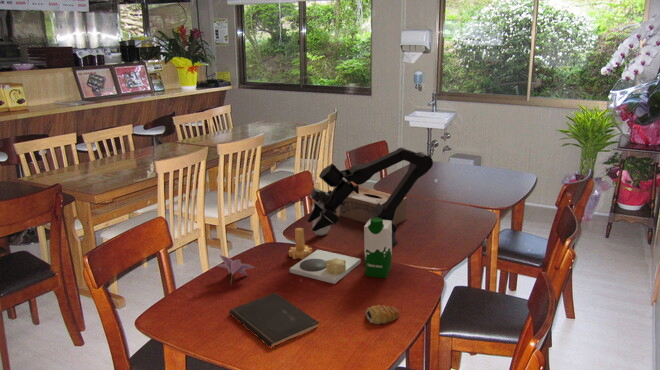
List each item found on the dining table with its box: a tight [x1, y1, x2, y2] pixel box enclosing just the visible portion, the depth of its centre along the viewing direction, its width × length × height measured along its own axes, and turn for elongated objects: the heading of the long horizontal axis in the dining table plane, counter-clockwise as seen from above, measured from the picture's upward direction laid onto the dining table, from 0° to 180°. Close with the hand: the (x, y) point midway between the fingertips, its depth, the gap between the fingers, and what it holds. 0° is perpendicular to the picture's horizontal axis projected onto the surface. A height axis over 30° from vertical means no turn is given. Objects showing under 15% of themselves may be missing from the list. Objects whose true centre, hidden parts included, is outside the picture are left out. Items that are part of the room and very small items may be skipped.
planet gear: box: [288, 227, 313, 261], centre depth 198 cm, size 9×9×10 cm
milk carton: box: [363, 218, 393, 279], centre depth 180 cm, size 9×9×20 cm
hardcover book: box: [229, 292, 320, 347], centre depth 155 cm, size 16×23×2 cm
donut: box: [312, 217, 331, 236], centre depth 216 cm, size 10×4×10 cm, turn 141°
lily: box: [216, 254, 255, 285], centre depth 180 cm, size 12×12×10 cm
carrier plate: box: [289, 249, 362, 285], centre depth 187 cm, size 18×18×4 cm
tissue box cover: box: [339, 186, 408, 226], centre depth 233 cm, size 26×14×10 cm, turn 47°
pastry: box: [365, 304, 400, 325], centre depth 155 cm, size 9×7×4 cm
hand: (310, 226), depth 197 cm, fingers open, 9 cm apart
